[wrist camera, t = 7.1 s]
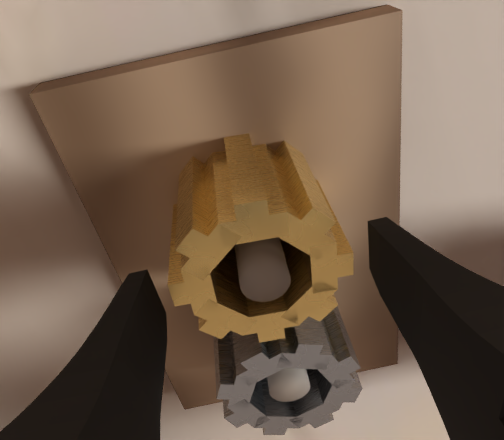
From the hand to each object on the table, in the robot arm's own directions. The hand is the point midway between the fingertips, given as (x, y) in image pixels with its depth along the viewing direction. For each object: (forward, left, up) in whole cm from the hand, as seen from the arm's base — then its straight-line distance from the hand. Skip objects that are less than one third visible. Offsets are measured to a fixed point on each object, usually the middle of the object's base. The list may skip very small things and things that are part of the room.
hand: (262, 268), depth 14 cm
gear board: (0, +3, -5) cm, 6 cm away
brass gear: (0, 0, -4) cm, 4 cm away
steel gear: (0, +6, -4) cm, 7 cm away
